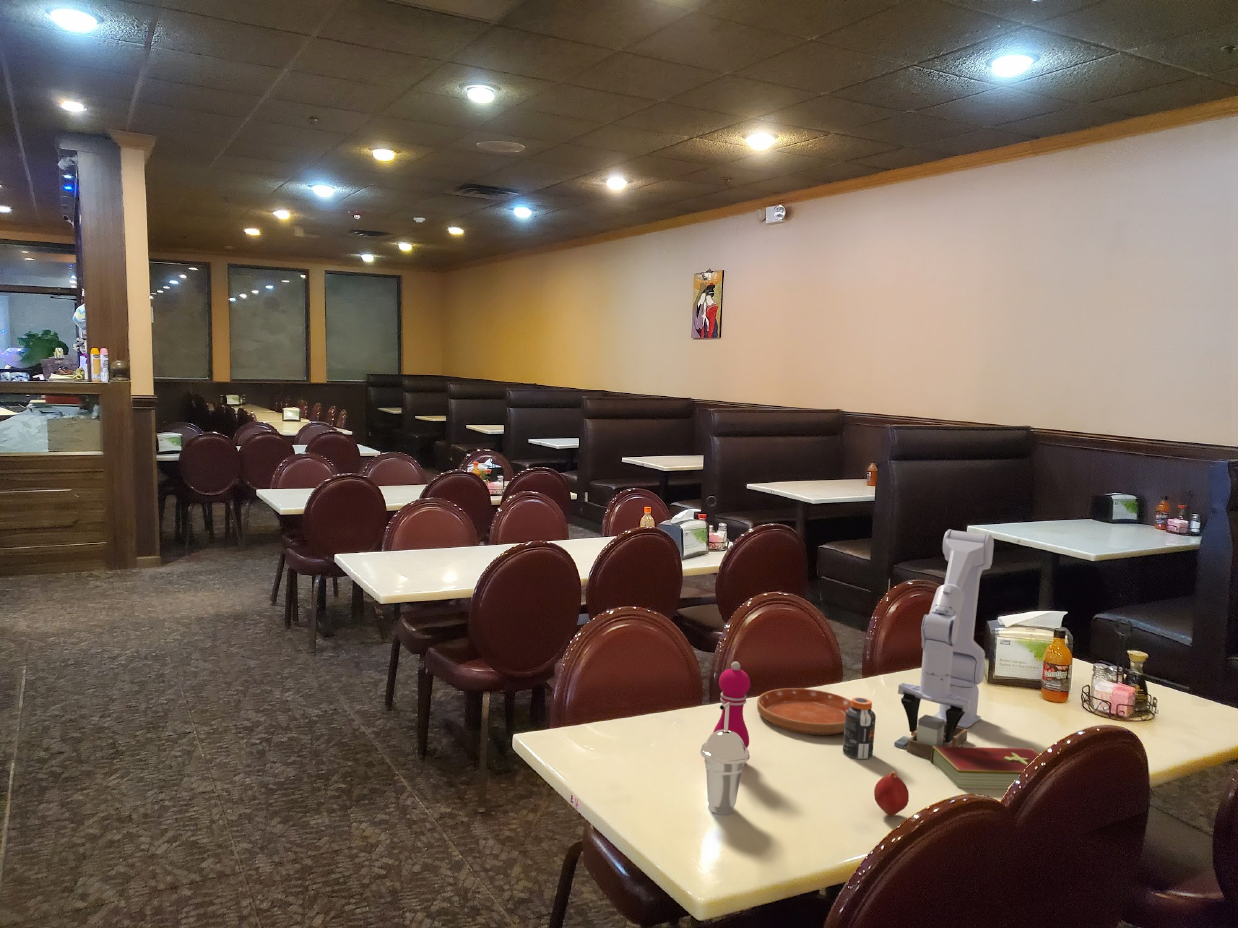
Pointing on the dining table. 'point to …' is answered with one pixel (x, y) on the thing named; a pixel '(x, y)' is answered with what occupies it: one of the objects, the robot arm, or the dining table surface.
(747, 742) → the pepper mill
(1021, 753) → the hardcover book
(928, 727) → the plug
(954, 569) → the robot arm
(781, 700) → the saucer
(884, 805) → the onion
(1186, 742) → the dining table surface
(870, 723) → the pill bottle
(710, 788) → the cup with straw
